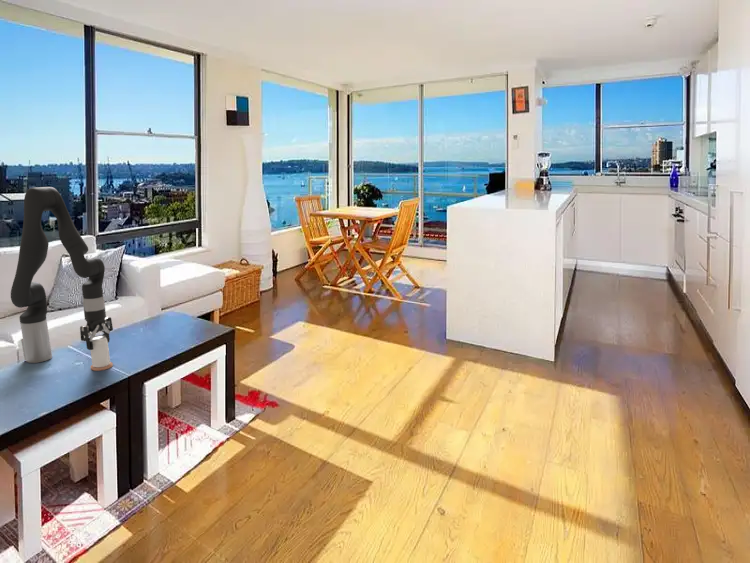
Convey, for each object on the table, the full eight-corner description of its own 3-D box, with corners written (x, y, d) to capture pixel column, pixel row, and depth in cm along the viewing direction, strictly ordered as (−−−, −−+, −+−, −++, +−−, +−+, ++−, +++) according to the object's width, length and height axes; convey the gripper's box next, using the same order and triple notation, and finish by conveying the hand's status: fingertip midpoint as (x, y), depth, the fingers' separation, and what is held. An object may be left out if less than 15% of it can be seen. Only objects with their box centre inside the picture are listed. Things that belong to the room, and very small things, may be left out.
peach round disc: (86, 369, 203) (85, 367, 203) (101, 362, 211) (100, 360, 210) (102, 371, 201) (102, 369, 201) (117, 364, 209) (117, 362, 209)
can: (113, 362, 209) (110, 335, 206) (103, 368, 202) (100, 340, 200) (99, 361, 209) (95, 334, 207) (88, 367, 203) (85, 339, 200)
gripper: (100, 302, 208) (104, 339, 212) (72, 311, 194) (76, 351, 198) (115, 303, 206) (119, 341, 210) (88, 313, 193) (92, 353, 196)
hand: (98, 345), depth 204 cm, fingers open, 8 cm apart
